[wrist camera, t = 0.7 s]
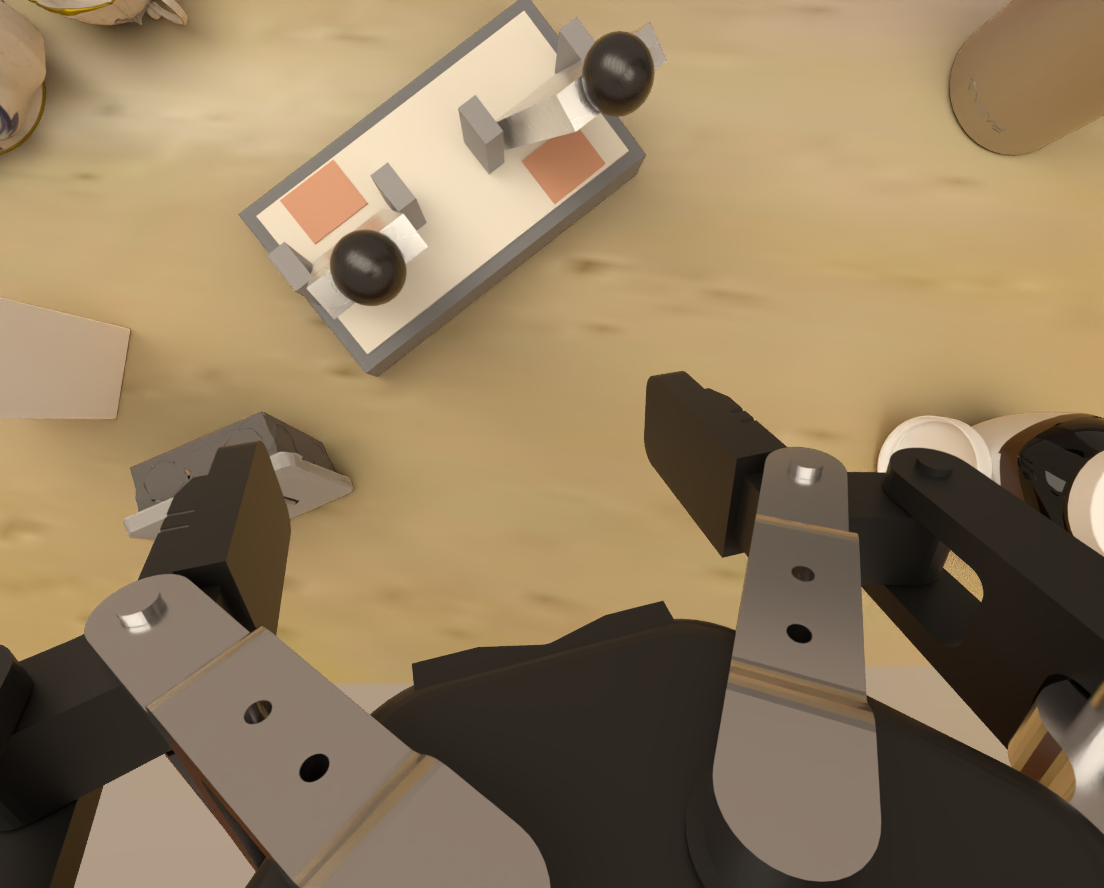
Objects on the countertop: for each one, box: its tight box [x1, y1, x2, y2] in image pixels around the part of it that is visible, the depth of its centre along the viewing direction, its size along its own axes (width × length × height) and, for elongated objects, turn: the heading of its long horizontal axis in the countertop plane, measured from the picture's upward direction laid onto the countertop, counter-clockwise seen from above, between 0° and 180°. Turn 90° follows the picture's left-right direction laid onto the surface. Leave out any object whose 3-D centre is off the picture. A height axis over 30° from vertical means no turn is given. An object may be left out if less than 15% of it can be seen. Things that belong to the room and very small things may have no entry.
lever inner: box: [496, 22, 667, 150], centre depth 30 cm, size 5×3×14 cm, turn 128°
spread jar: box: [877, 412, 1104, 557], centre depth 37 cm, size 12×11×12 cm
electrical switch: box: [124, 412, 353, 540], centre depth 35 cm, size 9×5×9 cm, turn 113°
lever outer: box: [307, 208, 428, 319], centre depth 29 cm, size 5×3×14 cm, turn 128°
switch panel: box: [238, 0, 646, 377], centre depth 36 cm, size 22×12×7 cm, turn 128°
